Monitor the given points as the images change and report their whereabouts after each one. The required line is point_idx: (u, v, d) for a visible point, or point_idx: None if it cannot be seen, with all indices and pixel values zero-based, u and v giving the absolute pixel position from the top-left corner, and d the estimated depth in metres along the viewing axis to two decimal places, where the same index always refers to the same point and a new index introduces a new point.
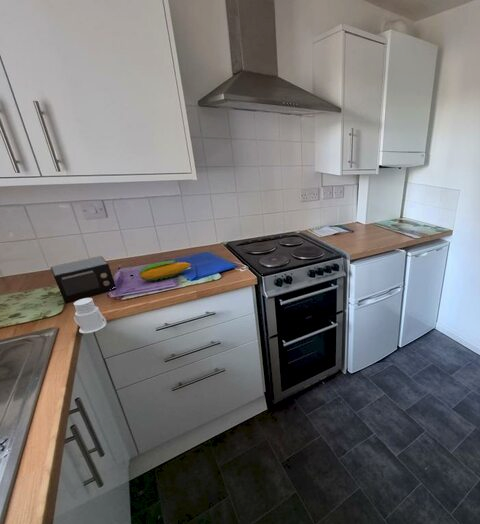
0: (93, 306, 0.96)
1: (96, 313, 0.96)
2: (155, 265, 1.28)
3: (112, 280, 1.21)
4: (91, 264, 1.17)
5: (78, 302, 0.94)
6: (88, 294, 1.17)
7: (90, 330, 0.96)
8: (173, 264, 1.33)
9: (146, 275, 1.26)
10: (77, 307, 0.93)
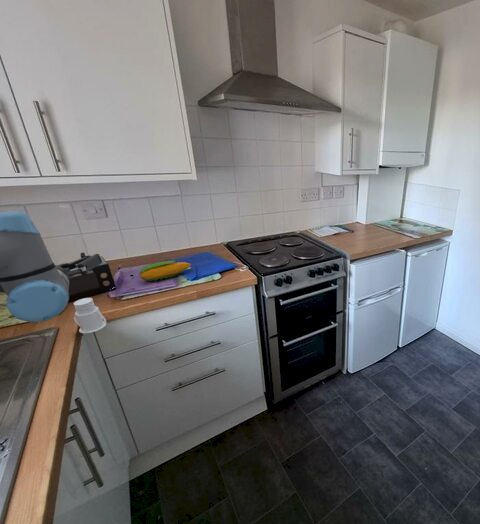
0: (93, 306, 0.96)
1: (96, 313, 0.96)
2: (155, 265, 1.28)
3: (112, 280, 1.21)
4: None
5: (78, 302, 0.94)
6: (88, 294, 1.17)
7: (90, 330, 0.96)
8: (172, 264, 1.33)
9: (146, 275, 1.26)
10: (77, 307, 0.93)
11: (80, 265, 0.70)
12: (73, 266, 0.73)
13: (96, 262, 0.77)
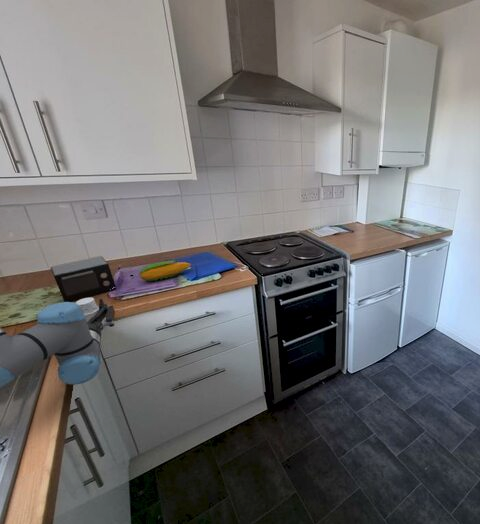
0: (94, 306, 0.96)
1: None
2: (155, 265, 1.28)
3: (112, 280, 1.21)
4: (91, 264, 1.17)
5: (80, 302, 0.94)
6: (88, 294, 1.17)
7: None
8: (173, 264, 1.33)
9: (146, 275, 1.26)
10: None
11: (110, 320, 0.90)
12: (99, 318, 0.92)
13: (113, 313, 0.96)
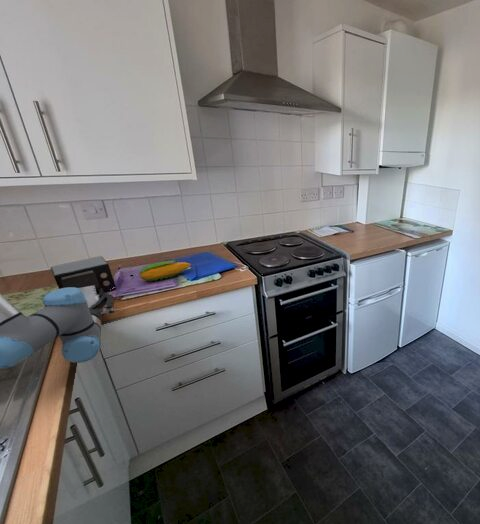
0: (93, 292, 1.02)
1: (93, 298, 1.01)
2: (155, 265, 1.28)
3: (112, 280, 1.21)
4: (91, 264, 1.17)
5: None
6: None
7: None
8: (173, 264, 1.33)
9: (146, 275, 1.26)
10: None
11: (110, 306, 0.97)
12: (99, 305, 0.99)
13: (113, 301, 1.03)
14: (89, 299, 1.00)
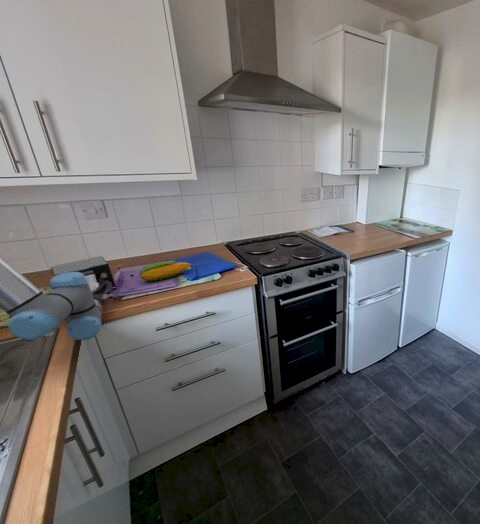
0: None
1: (94, 286, 1.09)
2: (155, 265, 1.28)
3: (112, 280, 1.21)
4: (91, 264, 1.17)
5: None
6: None
7: None
8: (173, 264, 1.33)
9: (146, 275, 1.26)
10: None
11: (110, 292, 1.06)
12: (100, 291, 1.07)
13: (112, 288, 1.11)
14: (90, 287, 1.09)
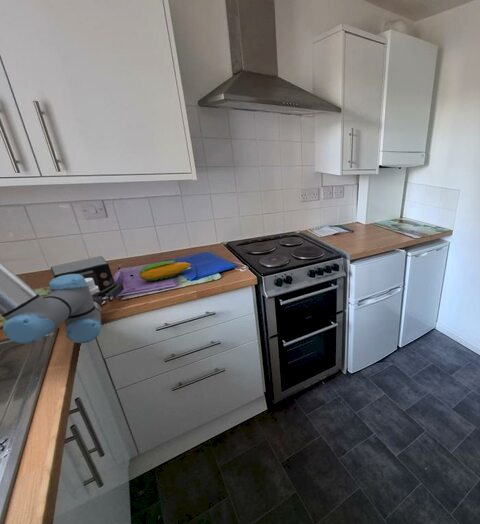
0: (93, 285, 1.09)
1: (94, 292, 1.09)
2: (155, 265, 1.28)
3: None
4: (91, 264, 1.17)
5: None
6: None
7: None
8: (172, 264, 1.33)
9: (146, 275, 1.26)
10: None
11: (109, 296, 1.03)
12: (104, 293, 1.06)
13: (120, 290, 1.10)
14: None
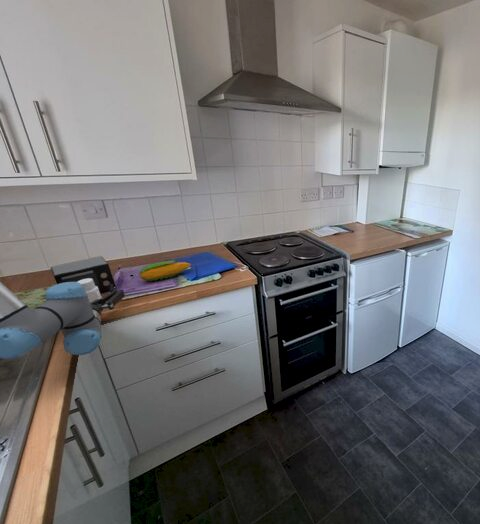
0: (93, 286, 1.09)
1: (94, 293, 1.09)
2: (155, 265, 1.28)
3: (112, 280, 1.21)
4: (91, 264, 1.17)
5: (80, 281, 1.07)
6: None
7: None
8: (173, 264, 1.33)
9: (146, 275, 1.26)
10: None
11: (109, 303, 0.98)
12: (104, 300, 1.01)
13: (120, 297, 1.05)
14: (90, 294, 1.08)
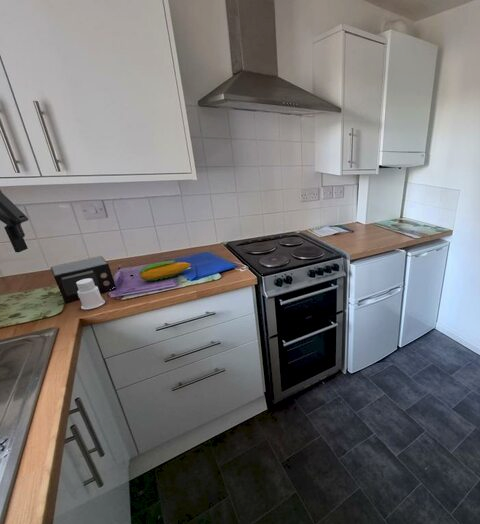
0: (92, 286, 1.09)
1: (94, 293, 1.09)
2: (155, 265, 1.28)
3: (112, 280, 1.21)
4: (91, 264, 1.17)
5: (80, 281, 1.07)
6: None
7: (88, 307, 1.09)
8: (173, 264, 1.33)
9: (146, 275, 1.26)
10: (78, 285, 1.06)
11: None
12: None
13: (13, 210, 0.71)
14: (90, 294, 1.08)
